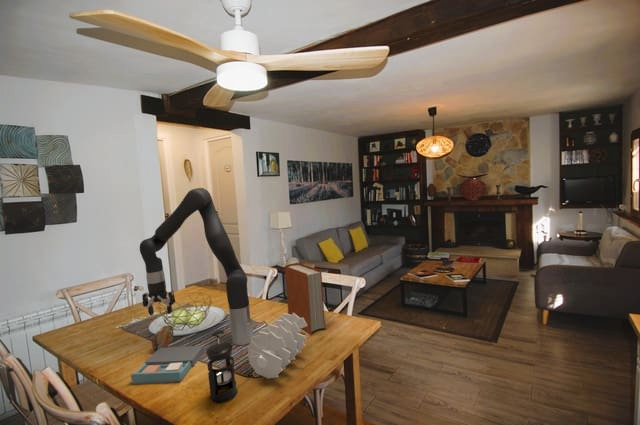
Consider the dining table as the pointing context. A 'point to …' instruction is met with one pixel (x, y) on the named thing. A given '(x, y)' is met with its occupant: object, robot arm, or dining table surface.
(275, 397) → the dining table surface
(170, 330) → the tin
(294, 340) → the grey pine cone
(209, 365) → the french press
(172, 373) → the tray
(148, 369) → the terracotta tile
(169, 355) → the grey stone slab
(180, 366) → the cream tile
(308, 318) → the book
